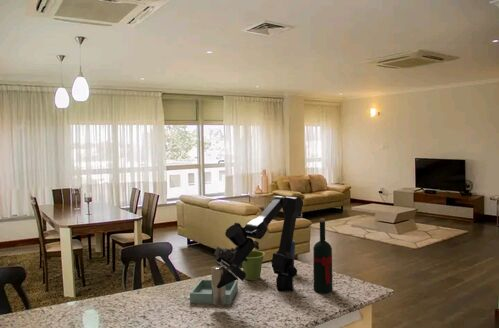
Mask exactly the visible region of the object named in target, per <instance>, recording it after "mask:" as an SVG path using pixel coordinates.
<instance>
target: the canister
mask: <svg viewBox="0 0 499 328" xmlns="http://www.w3.org/2000/svg"><path fill="white" fill-rule="evenodd" d="M210 270H211V271H210V272H211V279H210V280H212V303H213V304H212V305H214V306H221V305H226V304H225V303H226V293H225V286H223V287H221V288H217V285H218V283H219V282H220V280H221V278H222V277H223V275H224V273H225V267H224V266H217V265H214V266H211V268H210Z"/></svg>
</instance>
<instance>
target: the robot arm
mask: <svg viewBox="0 0 499 328" xmlns="http://www.w3.org/2000/svg"><path fill="white" fill-rule="evenodd" d="M303 205H304V201H303V200H302V198H301V197H300V196H292V195H291V196H290V195H286V196H283V195H274V196H273V199H272V201H271V202H270V203H269V204H268V205H267V206H266V208H264V210H263V211H262V212H261V214H260V215H258V216H256V217H255V218H253V219H251V220H250V221H248V222H247V223H246V224H245V225H244V226H242V225H241V223H240V222H234V223H233V224H232V225H231V226H228V228H227V229H226V230H225V233H224V235H225V237H226V239H228V240H229V241H230V242H231V243H232V244H233V245H234V246H235V247H234V248H233V247H231V248H227V247H225V248H223V247H221V246H218V245H217V246H216V249H215V251H214V254H213V255H214V256H215V257H214V258H213V259H214V260H215V265H216V266H224V267H225V273H224V275H223V277H222V278H221V280H220V282H219V283H218V285H217V288H221V287H223V286H225V285H227V284H229V283H231V282H233V281H238V280H240V281H242V282H244V280H246V279H245V278H246V273H245V272H244V271H243V269H241V268H240V267H242V263H243V262H244V261H245V262H246V261H247V259H246V258H247V256H248V255H249V254H250V253H251V252H252V251H254V249H255V250H256V251H260V246H259V242H258V241H257V240H262V239H263V238H264V236H265V235H266V233H267V231H268V227H269V225H270V223H272V221H273V219H275V217H276V216H277V215H278V213H280V211H281V210H282V213H283V215H284V218H283V224H282V229H281V235H280V242H279V246H278V250H277V251H276V252H273V253H272V259H271V260H270V261H271V267H272V270H273V273H274V274H277V276H276V282H275V283H276V286H275V287H276V289H277V291H278V292H294V278H296V276H297V274H298V269H297V268H296V266H295V265H294V266H293V258H292V255H291V246H292V240H294V233H295V228H296V221H297V219H298V217H299V216H300V214H301V213H302V209H303ZM253 239H256V240H253Z"/></svg>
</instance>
